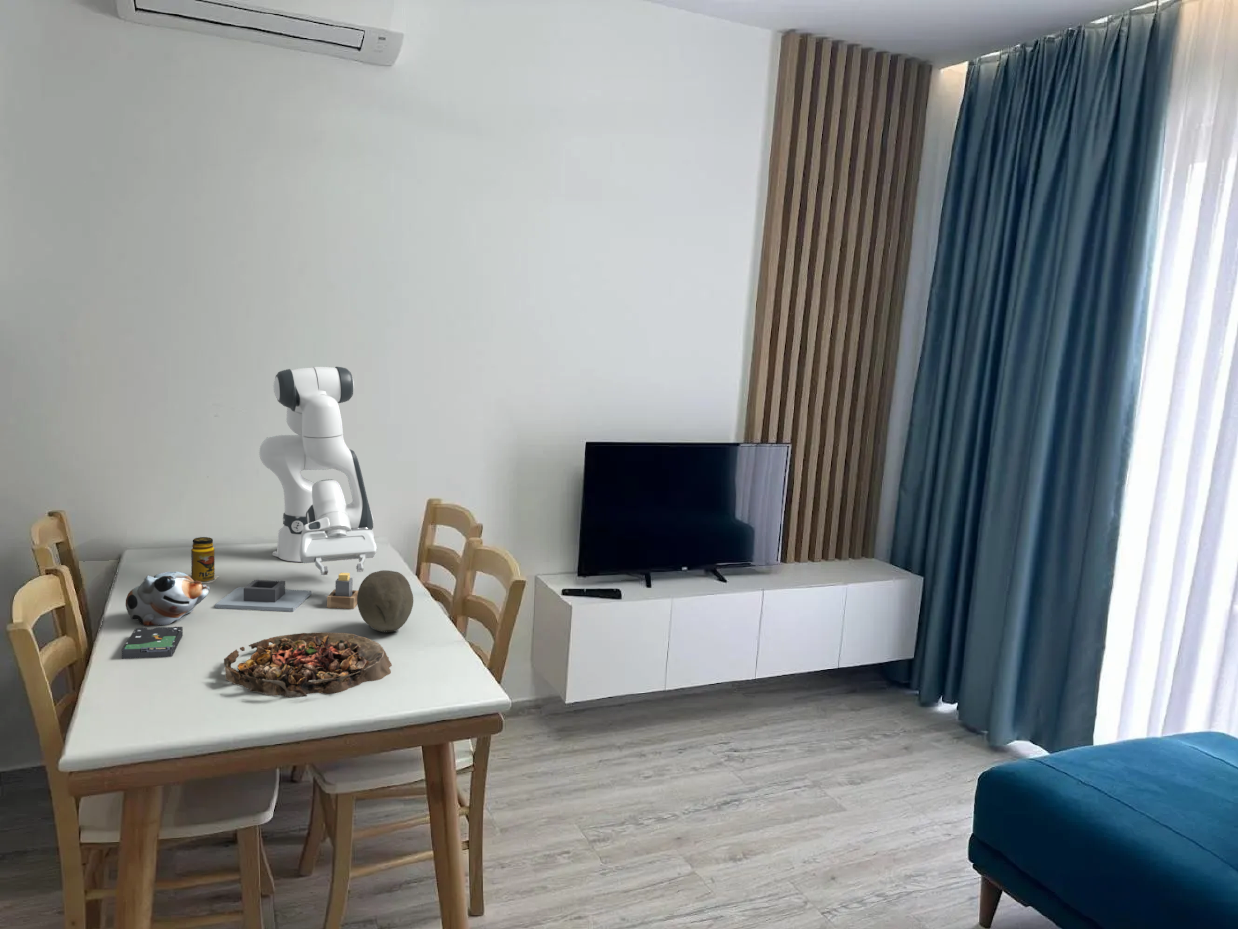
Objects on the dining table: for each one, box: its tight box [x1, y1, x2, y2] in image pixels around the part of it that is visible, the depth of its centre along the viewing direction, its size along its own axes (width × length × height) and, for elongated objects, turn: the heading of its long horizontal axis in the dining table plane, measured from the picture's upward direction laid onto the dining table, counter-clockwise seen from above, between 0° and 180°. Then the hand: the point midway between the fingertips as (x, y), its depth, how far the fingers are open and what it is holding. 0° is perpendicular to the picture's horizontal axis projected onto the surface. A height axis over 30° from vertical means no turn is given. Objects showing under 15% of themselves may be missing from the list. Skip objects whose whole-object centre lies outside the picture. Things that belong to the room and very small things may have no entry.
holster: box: [326, 588, 359, 610], centre depth 251 cm, size 7×7×3 cm
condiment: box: [187, 536, 219, 584], centre depth 265 cm, size 7×8×12 cm
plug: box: [334, 572, 354, 597], centre depth 250 cm, size 4×4×8 cm
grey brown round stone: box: [357, 569, 414, 633], centre depth 232 cm, size 14×14×15 cm
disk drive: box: [121, 626, 184, 660], centre depth 212 cm, size 10×3×15 cm
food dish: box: [223, 631, 393, 698], centre depth 204 cm, size 35×33×8 cm
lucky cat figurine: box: [125, 571, 211, 627], centre depth 230 cm, size 17×14×16 cm
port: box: [214, 579, 312, 613], centre depth 250 cm, size 16×20×4 cm
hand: (342, 572), depth 251 cm, fingers open, 8 cm apart
